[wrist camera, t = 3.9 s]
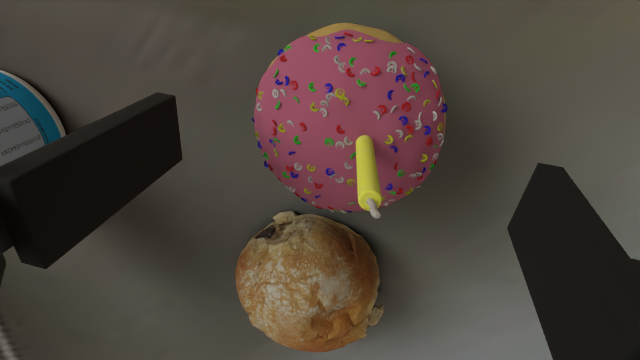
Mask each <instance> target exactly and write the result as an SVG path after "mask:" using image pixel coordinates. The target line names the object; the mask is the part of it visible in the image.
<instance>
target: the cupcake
mask: <svg viewBox="0 0 640 360" xmlns="http://www.w3.org/2000/svg"><path fill="white" fill-rule="evenodd" d="M256 94H257V97H256V104H255V109H254V119H253V118H252V120H253V121H254V127H255V135H256V137H255V138H256V139H257V140H258V147H259V148H260V149H261V151H262V154H263V156H264V158H265V162H264V165H265V167H268V166H269V168H270V170H271V171H273V173H274V174H275V175H276V177H277V178H278V179H279V180H280V181H281V182H282V185H283V186H284V187H285V188H287V189H288V190H290V191H291V192H293V193H295V194H296V195H297V196H298V197H301V199H302V200H303V201H305V202H306V201H307V202H308V203H310V204H312V205H313V206H315V207H317V208H320V209H322V208H326V209H328V210H329V211H331V212H333V211H332V210H331V209H334V210H335V211H338V212H340V210H341V212H342V213H348V212H352V211H364V210H367V211H370V213H371V215H372V216H373V217H374V218H376V219H378V218H380V216H381V215H380V213H379V212H378V209H377V208H380V207H383V206H390V204H391V203H393V202H395V201H397V200H399V199H401V198H402V197H404V196H405V195H407V194H410V193H412V191H413V190H414V189H415V188H419V187H421V186H419V185H420V184H421V183H422V182H423V181H424V180H425V179H426V178H427V176H428V175H429V173H430V172H431V170H432V169H433V168H434V165H435V164H436V161H437V158H438V156H439V153H440V150H441V147H442V144H443V141H444V134H445V125H446V111H447V106H446V104H445V99H444V95H443V93H442V90H441V85H440V81H439V78H438V75H437V72H436V70H435V69H434V67H433V65H432V64H431V63H430V61H429V60H428V59H427V58H426V56H425V55H424V54H423V53H422V52H421V51H420V50H418V49H417V48H416V47H414V46H413V45H411V44H408V43H403V42H402V41H400V40H399V39H398V38H396V37H395V36H393V35H391V34H390V33H388V32H386V31H384V30H381V29H377V28H372V27H366V26H362V25H358V24H353V23H337V24H332V25H329V26H326V27H323V28H321V29H318V30H316V31H314V32H312V33H310V34H308V35H306V36H302V37H300V38H298V39H296V40H295V41H293V42H291V43H290V44H289V45H287V46H286V47H285V48H284V50H282V49H281V50H279V52H278V56H277V57H276V58H275V59H274V60H273V62H272V63H271V64H270V66H269V67H268V69H267V71H266V72H265V73H264V75H263V77H262V79H261V81H260V84H259V87H258V88H256ZM266 162H267V163H266ZM266 164H267V166H266Z"/></svg>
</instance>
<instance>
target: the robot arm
mask: <svg viewBox="0 0 640 360" xmlns="http://www.w3.org/2000/svg"><path fill="white" fill-rule="evenodd" d="M181 160H182V151H181V142H180V133H179V125H178V116H177V107H176V98H175V96H173V95H168V94H162V93H155V94H153V95H151V96H149V97H146V98H144V99H142V100H140V101H138V102H136V103H134V104H132V105H129V106H127V107H125V108H123V109H121V110H119V111H117V112H115V113H112V114H110V115H108V116H106V117H104V118H102V119H100V120H98V121H95V122H93V123H91V124H89V125H87V126H85V127H83V128H81V129H78V130H76V131H74V132H72V133H70V134H68V135H66V136H64V137H61V138H59V139H57V140H55V141H53V142H51V143H49V144H47V145H44V146H42V147H40V148H38V149H36V150H34V151H32V152H30V153H27V154H25V155H23V156H21V157H19V158H17V159H15V160H13V161H10V162H8V163H6V164H4V165H2V166H0V285H1V281H2V277H3V274H4V270H5V267H6V261H5V258H4V256H3V254H2V253H3V252H5V251H6V250H8V249H9V248H11V247H12V246H14V247H15V249H16V252H17V254H18V256H19V258H20V260H21V262H22V263H25V264H29V265H32V266H36V267H40V268H43V269H47V268H48V267H49V266H50V265H52V264H53V263H54V262H55V261H57V260H58V259H59V258H60V257H62V256H63V255H64V254H65V253H67V252H68V251H69V250H70V249H72V248H73V247H74V246H75V245H77V244H78V243H79V242H80V241H82V240H83V239H84V238H85V237H86V236H88V235H89V234H90V233H91V232H93V231H94V230H95V229H96V228H98V227H99V226H100V225H101V224H103V223H104V222H105V221H106V220H108V219H109V218H110V217H111V216H113V215H114V214H115V213H116V212H118V211H119V210H120V209H121V208H123V207H124V206H125V205H126V204H127V203H129V202H130V201H131V200H132V199H134V198H135V197H136V196H137V195H139V194H140V193H141V192H142V191H144V190H145V189H146V188H147V187H149V186H150V185H151V184H152V183H154V182H155V181H156V180H157V179H159V178H160V177H161V176H162V175H163V174H165V173H166V172H167V171H168V170H170V169H171V168H172V167H173V166H175V165H176V164H177V163H178V162H180V161H181ZM507 229H508V232H509V235H510V238H511V240H512V243H513V246H514V249H515V252H516V255H517V258H518V260H519V263H520V266H521V269H522V272H523V275H524V278H525V280H526V283H527V286H528V289H529V292H530V295H531V298H532V300H533V303H534V306H535V309H536V312H537V315H538V318H539V320H540V323H541V326H542V329H543V332H544V335H545V338H546V341H547V343H548V346H549V349H550V352H551V355H552V358H553V360H640V260H635V259H631V258H630V257H629V256H628V255H627V253H626V252H625V251H624V249H623V248H622V247H621V245H620V244H619V243H618V241H617V240H616V238H615V237H614V236H613V234H612V233H611V232H610V230H609V229H608V228H607V226H606V225H605V224H604V222H603V221H602V220H601V218H600V217H599V215H598V214H597V213H596V211H595V210H594V209H593V207H592V206H591V205H590V203H589V202H588V201H587V199H586V198H585V197H584V195H583V194H582V192H581V191H580V190H579V188H578V187H577V186H576V184H575V183H574V182H573V180H572V179H571V178H570V176H569V175H568V174H567V172H566V171H565V170H564V168H563V167H558V166H553V165H547V164H542V163H538V164H537V166H536V168H535V170H534V173H533V175H532V177H531V179H530V181H529V183H528V185H527V187H526V189H525V191H524V194H523V196H522V198H521V200H520V202H519V204H518V206H517V208H516V210H515V213H514V215H513V217H512V219H511V221H510V223H509V225H508V227H507Z"/></svg>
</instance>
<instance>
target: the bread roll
mask: <svg viewBox="0 0 640 360" xmlns="http://www.w3.org/2000/svg"><path fill="white" fill-rule="evenodd" d="M272 218H273V219H274V220H275V222H273V223H271V224H269V225H268V226H267V227H265V228H264V229H263V230H261V231H260V232H259V233H258V234H256V235H255V236H254V237H252V238H251V240H250V241H249V242H248V244H247V245H246V246H245V248H244V249H243V250H242V252H241V254H240V256H239V259H238V262H237V266H236V273H235V280H236V287H237V291H238V295H239V299H240V302H241V304H242V306H243V308H244V310H245V311H246V312H247V313H248V314H249V320H250V323H251V324H252V325H253V326H254V327H256V328H258V329H259V330H261V331H263V332H265V334H266V335H267V336H268V337H269V338H271V339H272V340H274V341H275V342H277V343H279V344H282V345H284V346H287V347H289V348H292V349H296V350H301V351H309V352H328V351H331V350H334V349H337V348H341V347H344V346H345V345H346V344H349V343H352V342H354V341H356V340H359V339H361V338H364V337H366V335H367V334H366V329H367V328H368V326H373V325H375V324H376V323H377V322H378V321H379V320H380V317H381V316H382V315H383V312H384V311H383V307H384V306H383V304H382V305H381V306H380V305H377V306H375V305H374V303H375V300H376V298H377V295H378V292H379V291H380V285H379V283H380V278H379V275H380V273H379V267H378V264H377V261H376V258H377V257H376V256H375V255H374V253H373V252H372V250H371V249H370V247H369V245H368V244H367V242H366V241H365V240H364V238H363V237H362V236H361V235H358V234H356V233H355V232H354V231H353V230H351V229H350V228H348V227H347V226H346V225H343V224H340V223H337V222H335V221H333V220H331V219H328V218H326V217H323V216H319V215H316V214H303V215H297V214H295V213H294V212H293V211H285V212H280V213H278V214H277V215H275V216H274V217H272Z"/></svg>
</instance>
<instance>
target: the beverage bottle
mask: <svg viewBox="0 0 640 360" xmlns="http://www.w3.org/2000/svg"><path fill="white" fill-rule="evenodd" d="M64 136H66V134H65V130H64V128H63V125H62V123H61V121H60V119H59V117H58V116H57V114H56V112H55V111H54V109H53V108H52V107H51V105H50V104H49V103H48V102H47V100H46V99H45V98H44V97H43V96H42V95H41V94H40V93H39V92H38V91H37V90H36V89H34V88H33V87H32V86H31V85H29V84H28V83H27V82H25V81H24V80H22V79H20V78H19V77H17V76H15V75H13V74H10V73H8V72H5V71H2V70H0V166H2V165H4V164H6V163H8V162H10V161H13V160H15V159H17V158H19V157H21V156H23V155H25V154H27V153H30V152H32V151H34V150H36V149H38V148H40V147H42V146H44V145H47V144H49V143H51V142H53V141H55V140H57V139H59V138H61V137H64Z"/></svg>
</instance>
